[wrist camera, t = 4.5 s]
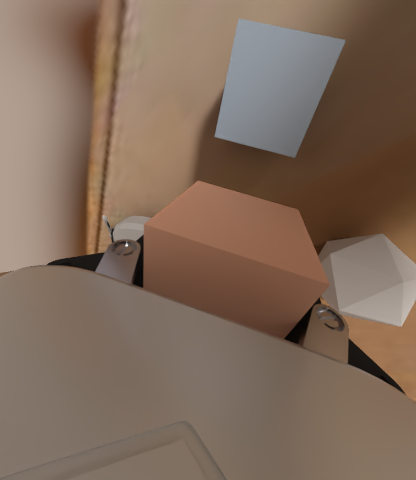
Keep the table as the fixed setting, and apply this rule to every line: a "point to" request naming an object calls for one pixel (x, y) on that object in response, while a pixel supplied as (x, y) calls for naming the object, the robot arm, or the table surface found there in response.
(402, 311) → the die
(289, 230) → the terracotta block
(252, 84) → the slate block
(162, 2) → the table surface
